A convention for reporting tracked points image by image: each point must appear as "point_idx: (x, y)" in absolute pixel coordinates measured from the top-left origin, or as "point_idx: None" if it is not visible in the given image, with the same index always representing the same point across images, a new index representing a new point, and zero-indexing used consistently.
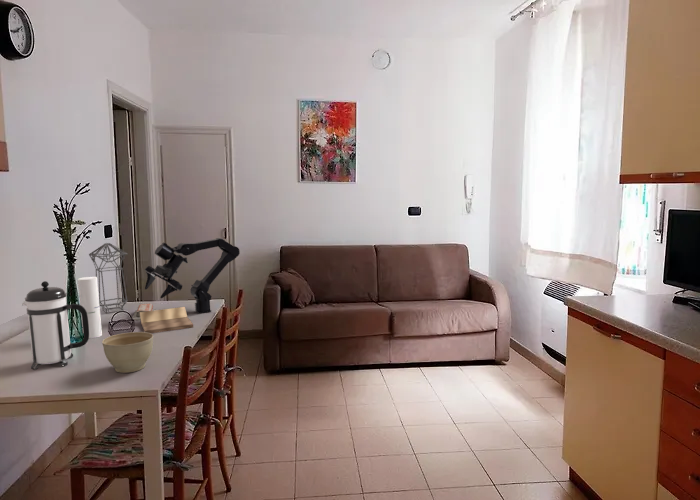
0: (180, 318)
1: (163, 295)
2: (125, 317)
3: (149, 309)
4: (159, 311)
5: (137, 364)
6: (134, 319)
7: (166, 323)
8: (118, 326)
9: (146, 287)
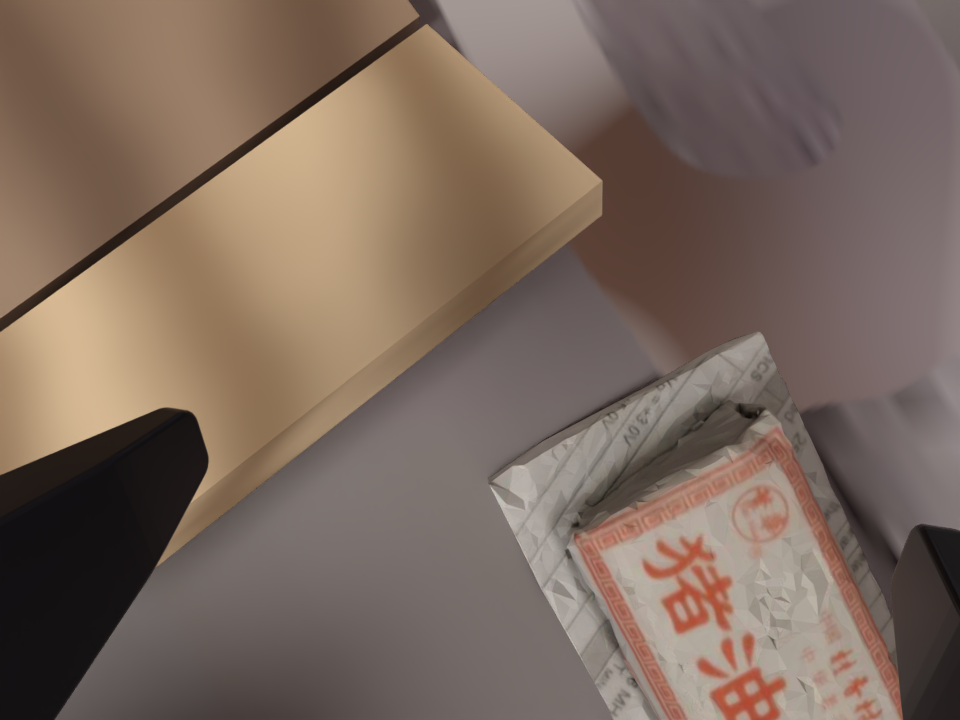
0: None
1: (62, 467)
2: (932, 495)
3: (657, 612)
4: (295, 369)
5: None
6: (723, 345)
7: None
8: (761, 40)
9: (931, 588)
